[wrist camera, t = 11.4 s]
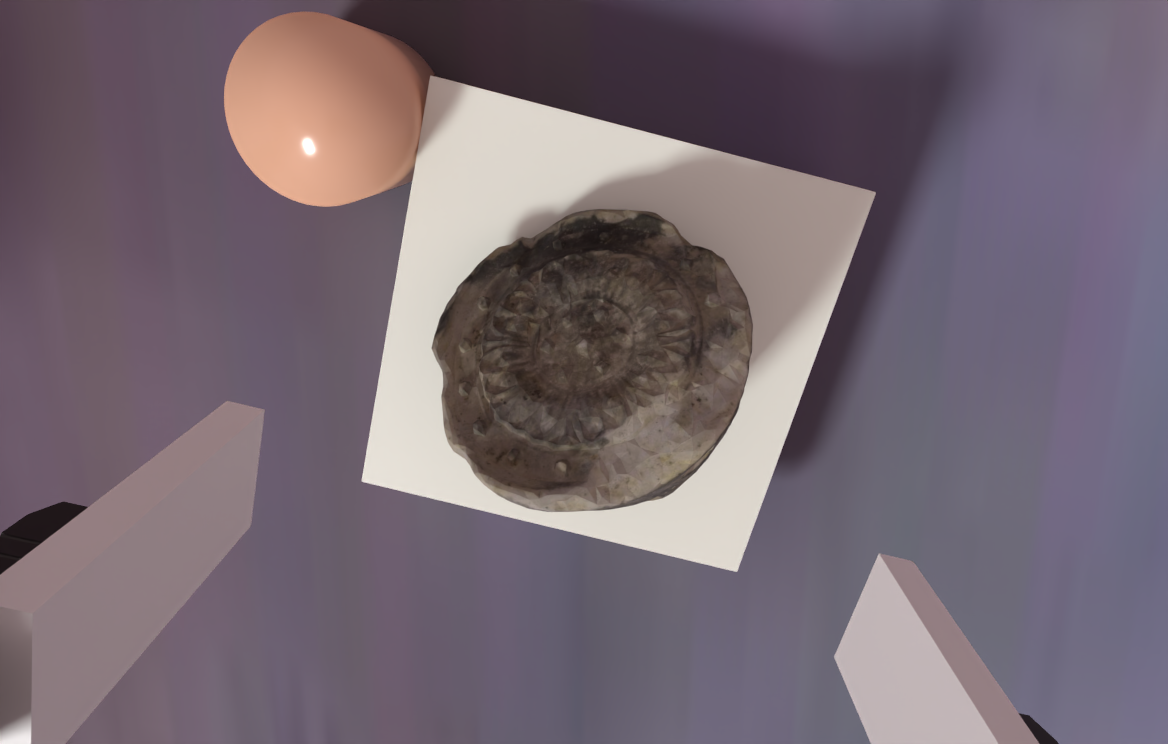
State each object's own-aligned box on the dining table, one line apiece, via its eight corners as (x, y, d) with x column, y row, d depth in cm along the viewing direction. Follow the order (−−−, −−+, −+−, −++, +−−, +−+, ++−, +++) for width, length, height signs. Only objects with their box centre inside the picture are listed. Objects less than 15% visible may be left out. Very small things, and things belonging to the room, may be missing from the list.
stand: (389, 441, 35) (361, 481, 31) (454, 80, 30) (430, 75, 26) (724, 523, 36) (736, 571, 32) (844, 182, 30) (876, 192, 27)
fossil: (611, 124, 26) (745, 276, 18) (737, 279, 32) (877, 442, 24) (386, 330, 28) (425, 538, 21) (543, 439, 34) (616, 632, 26)
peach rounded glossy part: (289, 169, 31) (216, 181, 26) (307, 13, 29) (233, -11, 24) (431, 205, 32) (390, 226, 26) (459, 53, 30) (421, 39, 24)
